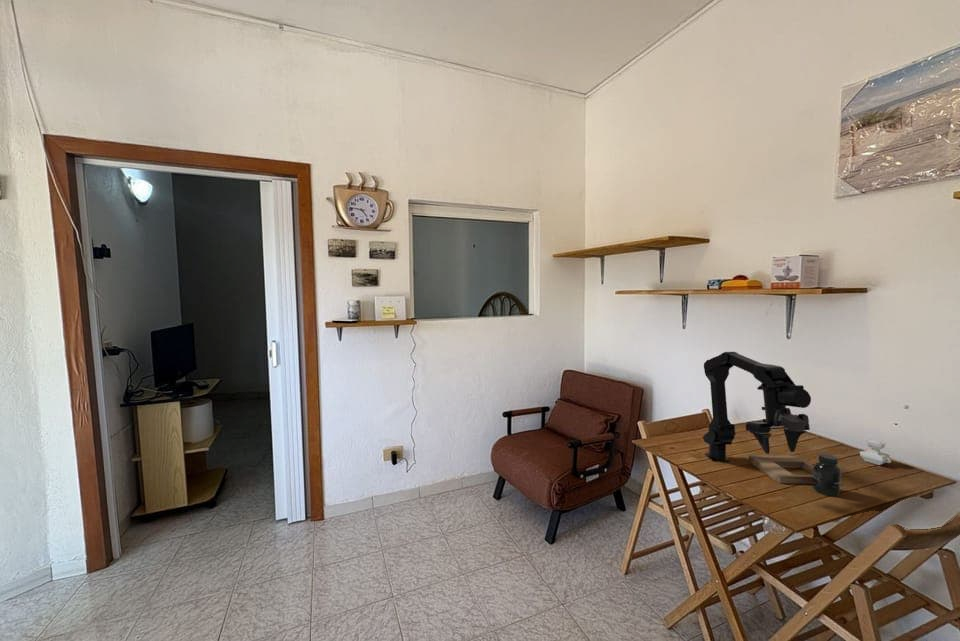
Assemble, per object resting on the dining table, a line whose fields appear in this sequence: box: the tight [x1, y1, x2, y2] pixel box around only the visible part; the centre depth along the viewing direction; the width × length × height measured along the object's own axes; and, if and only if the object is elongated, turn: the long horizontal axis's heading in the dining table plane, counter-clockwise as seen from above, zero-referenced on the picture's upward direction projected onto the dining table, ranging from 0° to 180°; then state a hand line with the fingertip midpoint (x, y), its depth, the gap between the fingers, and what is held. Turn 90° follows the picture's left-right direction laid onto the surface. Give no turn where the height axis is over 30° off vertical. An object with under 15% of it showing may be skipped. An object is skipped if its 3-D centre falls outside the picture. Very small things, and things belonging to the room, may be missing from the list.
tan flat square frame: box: [747, 454, 814, 485], centre depth 145 cm, size 17×18×2 cm
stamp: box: [859, 439, 892, 466], centre depth 152 cm, size 9×7×8 cm
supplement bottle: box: [812, 453, 842, 497], centre depth 131 cm, size 7×7×12 cm
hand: (779, 452), depth 129 cm, fingers open, 9 cm apart
